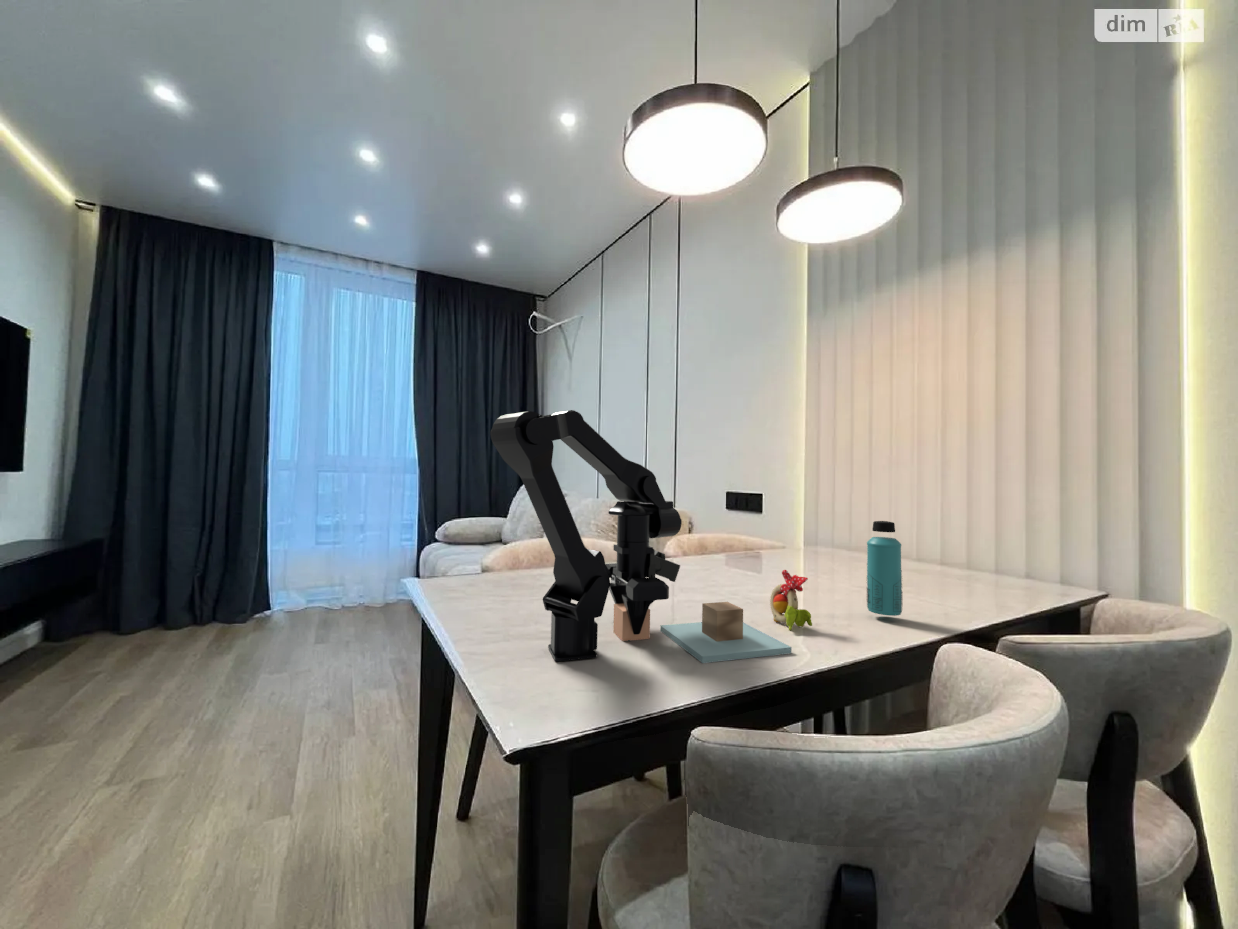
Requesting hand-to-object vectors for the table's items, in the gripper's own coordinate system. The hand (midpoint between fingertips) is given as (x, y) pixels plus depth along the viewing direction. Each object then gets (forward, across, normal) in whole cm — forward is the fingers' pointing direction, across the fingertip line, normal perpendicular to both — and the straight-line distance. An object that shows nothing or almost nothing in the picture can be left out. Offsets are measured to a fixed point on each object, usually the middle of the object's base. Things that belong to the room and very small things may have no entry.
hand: (631, 629), depth 85 cm
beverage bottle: (+1, -3, -54) cm, 54 cm away
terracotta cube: (+1, 0, 0) cm, 1 cm away
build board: (+1, -7, -14) cm, 16 cm away
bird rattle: (+1, -2, -31) cm, 31 cm away
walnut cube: (0, -7, -14) cm, 16 cm away
